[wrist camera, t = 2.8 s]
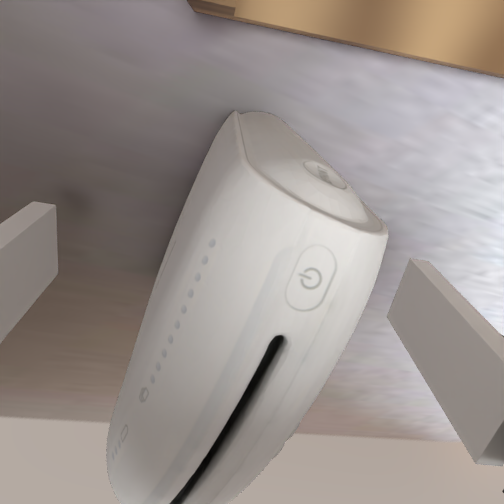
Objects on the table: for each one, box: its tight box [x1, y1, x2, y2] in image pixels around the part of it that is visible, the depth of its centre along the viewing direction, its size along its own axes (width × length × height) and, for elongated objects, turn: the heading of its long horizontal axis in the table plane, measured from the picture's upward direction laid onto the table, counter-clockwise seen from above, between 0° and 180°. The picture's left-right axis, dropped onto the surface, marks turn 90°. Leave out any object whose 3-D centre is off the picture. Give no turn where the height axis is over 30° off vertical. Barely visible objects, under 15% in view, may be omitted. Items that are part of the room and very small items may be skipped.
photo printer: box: [106, 111, 389, 504], centre depth 13 cm, size 10×4×12 cm, turn 155°
